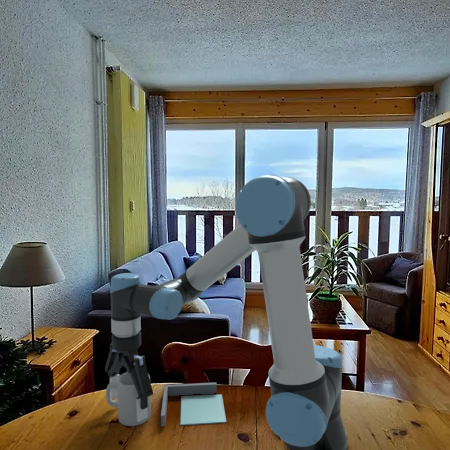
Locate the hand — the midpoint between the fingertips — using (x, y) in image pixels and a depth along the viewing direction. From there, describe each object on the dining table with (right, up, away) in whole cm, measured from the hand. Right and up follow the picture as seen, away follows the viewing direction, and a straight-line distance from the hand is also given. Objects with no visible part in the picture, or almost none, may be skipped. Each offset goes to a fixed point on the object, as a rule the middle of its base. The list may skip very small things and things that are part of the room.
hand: (128, 408), depth 100 cm
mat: (+20, -2, +3) cm, 20 cm away
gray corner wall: (+17, -2, +4) cm, 17 cm away
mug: (0, -3, 0) cm, 2 cm away
